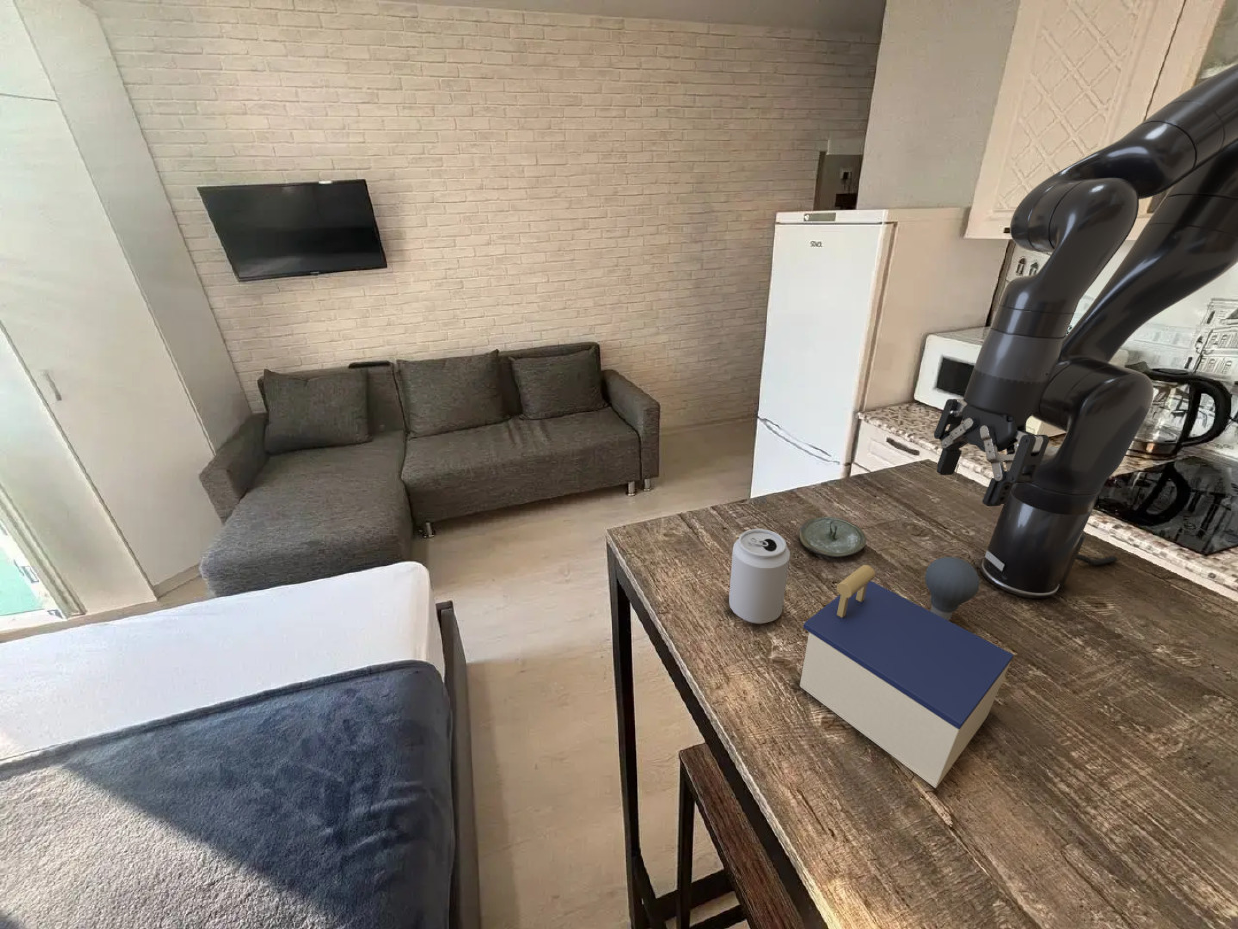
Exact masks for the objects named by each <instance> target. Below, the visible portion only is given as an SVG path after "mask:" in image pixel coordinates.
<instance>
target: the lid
mask: <svg viewBox="0 0 1238 929" xmlns="http://www.w3.org/2000/svg"><path fill="white" fill-rule="evenodd" d="M798 536H799V540H800V543H801V544H802V545H803V546H804V547H805V548H806V549H808V550H810V551H812V552H813V553H815V554H818V555H822V556H826V557H831V558H842V557H848V556H852V555H855V554H858V553H859V552H860V551H861V550H863V548H864V547H866V544H867V536H866V534H865V533H864V531H863V529H862V528H860V527H859V526H858V525H856V524H855V523H852V522H851V521H848V520H846V519H844V518H841V517H834V516H819V517H813V518H810V519H807V520H806V521H805V522H803V523H802V524H801V526H800V528H799V535H798Z"/></svg>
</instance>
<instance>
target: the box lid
mask: <svg viewBox="0 0 1238 929" xmlns="http://www.w3.org/2000/svg"><path fill="white" fill-rule="evenodd" d="M875 577H876V571H875V570H874V568H873V567H872V566H870V565H868V564H863V565H861V566H859V567H858V568H857V569H856V570H854V571H853V572H852V573H850V574H849V575H848V576H847V577H846V578H844V579H843V580H841V581H840V582H839V583H837V586H836V589H837V590H836V591H837V593H838V594H839V595H837V596H836V597H835V598H834V599H833V600H831V601H830V602H828V604H826V605H825V606H824V607H823V608H821V609H820V610H819V611H817V612H816V613H815V614H813V615H812V616H811V617H810V618H808V619H807V620H806V621H804V623H803V627H802V628H803V629H804V630H806V631H807V632H810V633H812V634H813V635H815V636H816V637H818V638H819V639H821V640H822V641H824V642H825V643H827V644H828V645H830V646H832V647H833V648H835V649H836V650H838V651H839V652H841V653H842V654H844V655H845V656H847V657H848V658H850V659H851V660H853V661H855V662H856V663H858V664H859V665H861V666H862V667H864V668H865V669H867V670H868V671H870V672H871V673H873V674H874V675H876V676H878V677H879V678H881V679H882V680H884V681H885V682H887V683H888V684H890V685H891V686H893V687H894V688H896V689H897V690H899V691H901V692H902V693H904V694H905V695H907V696H908V697H910V698H911V699H913V700H914V701H916V702H917V703H919V704H920V705H922V706H924V707H925V708H927V709H928V710H930V711H931V712H933V713H934V714H936V715H937V716H939V717H940V718H942V719H943V720H945V721H947V722H948V723H950V724H951V725H953V726H954V727H956V728H957V729H960V728H961V727H962V726H963V724H964V723H965V722H966V720H967V719H968V718H969V716H970V715H971V714H972V712H973V711H974V710H975V708H976V707H977V706H978V704H979V703H980V702H981V700H982V699H983V698H984V696H985V695H986V694H987V692H988V691H989V690H990V688H991V687H992V686H993V684H994V683H995V682H996V680H997V679H998V678H999V676H1000V675H1001V674H1002V672H1003V671H1004V670H1005V668H1006V667H1007V666H1008V664H1009V663H1010V662H1011V663H1012V660H1013V658H1014V655H1015V654H1013V653H1012V652H1010V651H1008V650H1006V649H1004V648H1001V647H1000V646H998V645H996V644H994V643H992V642H990V641H989V640H986V639H985V638H983V637H981V636H979V635H977V634H975V633H973V632H971V631H970V630H967V629H965V628H964V627H961V626H959V625H957V624H955V623H953V622H952V621H950V620H949V621H948V620H946V619H944V618H942V617H940V616H938V615H936V614H934V613H932V612H930V611H931V610H928V609H927V608H924V607H923V606H921V605H920V604H919V605H918V604H917V603H915V602H914V601H911V600H909V599H907V598H906V597H903V596H902V595H900V594H898V593H896V592H894V591H893V590H891V589H887V588H886V587H884V586H882V585H880V584H878V583H876V582H874V581H873V580H874V579H875ZM1011 663H1010V664H1011Z"/></svg>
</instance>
